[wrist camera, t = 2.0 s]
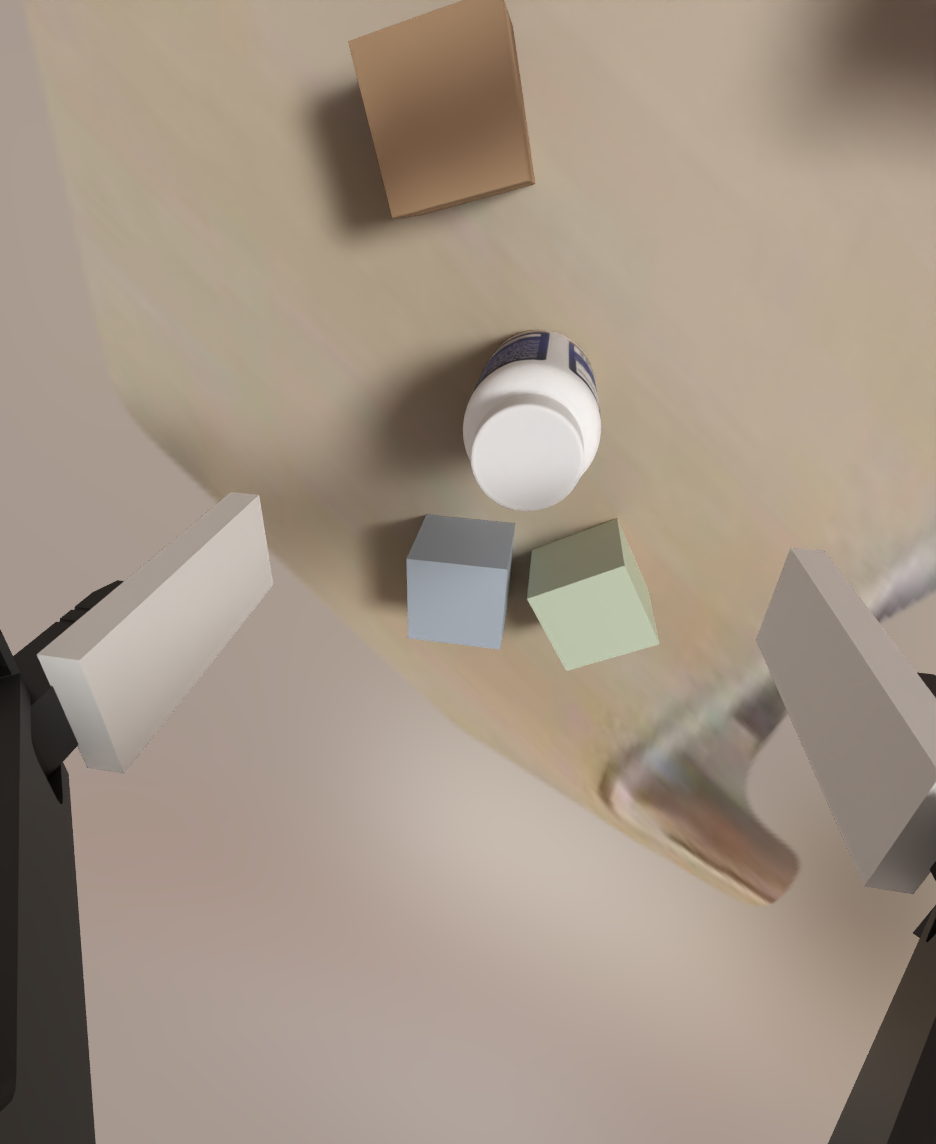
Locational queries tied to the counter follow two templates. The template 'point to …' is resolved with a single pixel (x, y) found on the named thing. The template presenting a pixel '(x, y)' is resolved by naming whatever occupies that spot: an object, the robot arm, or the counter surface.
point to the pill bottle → (532, 421)
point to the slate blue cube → (459, 581)
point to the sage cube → (591, 596)
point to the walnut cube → (445, 107)
